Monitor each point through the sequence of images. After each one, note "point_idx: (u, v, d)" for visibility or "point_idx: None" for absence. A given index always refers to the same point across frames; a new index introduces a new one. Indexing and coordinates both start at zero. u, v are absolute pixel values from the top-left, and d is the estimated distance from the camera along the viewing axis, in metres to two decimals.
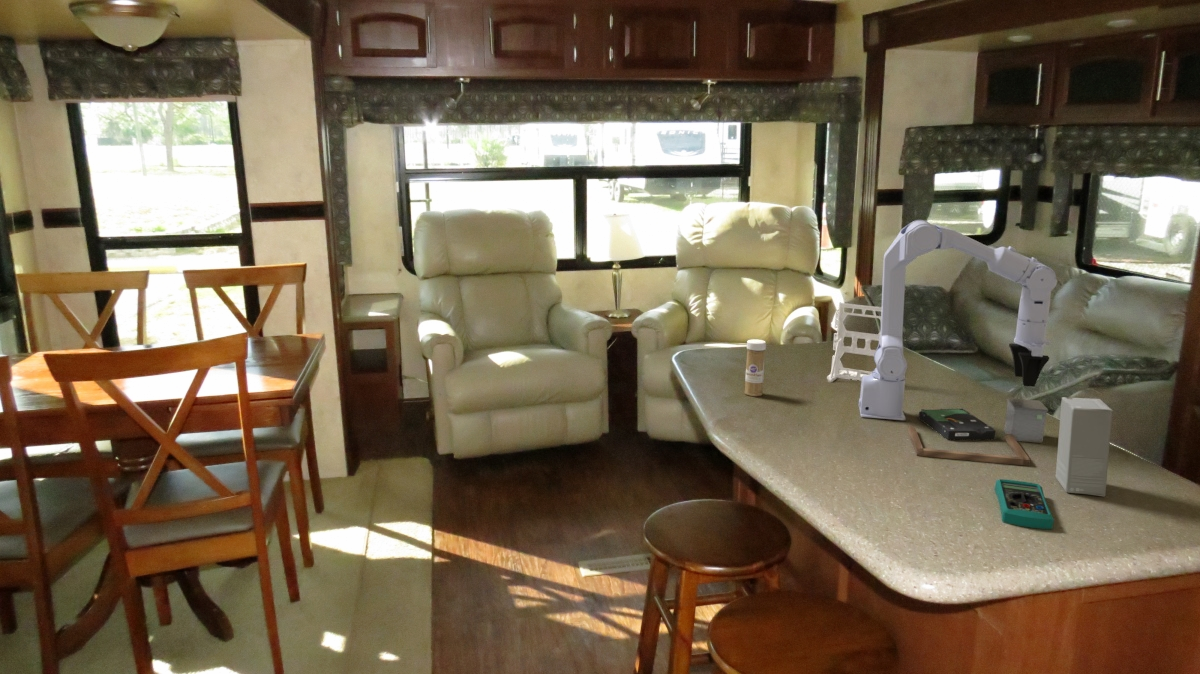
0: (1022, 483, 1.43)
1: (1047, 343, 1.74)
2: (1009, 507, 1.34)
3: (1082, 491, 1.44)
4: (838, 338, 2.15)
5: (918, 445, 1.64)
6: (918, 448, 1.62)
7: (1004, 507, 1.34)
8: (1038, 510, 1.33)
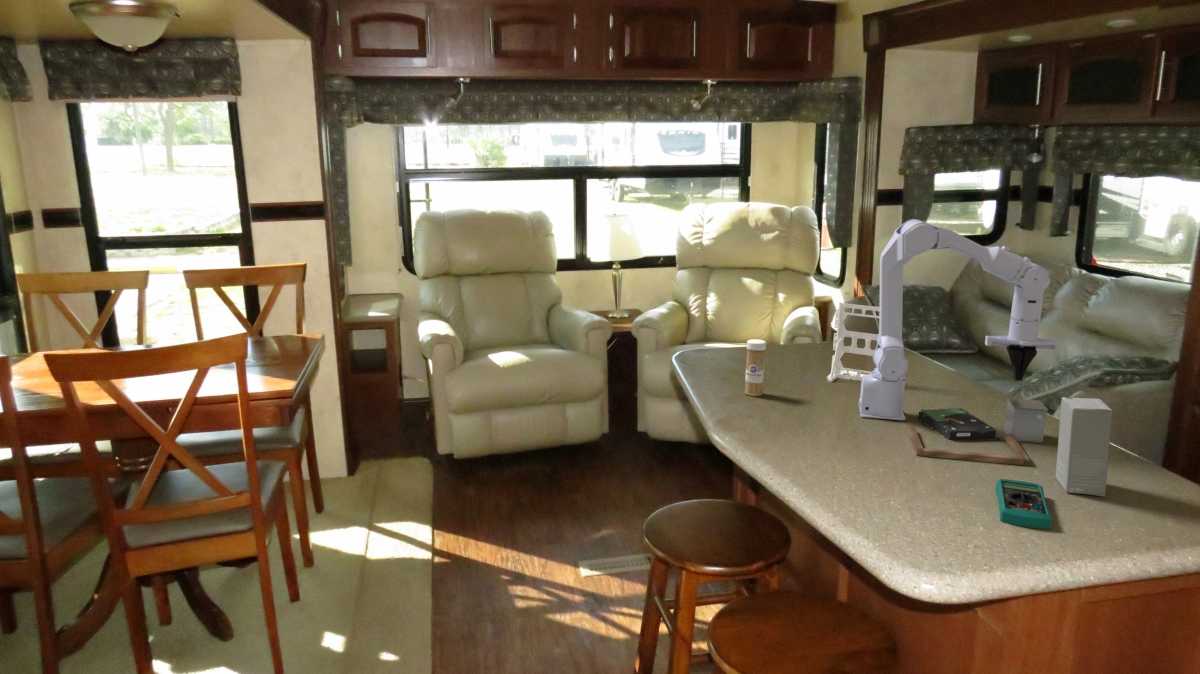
0: (1023, 483, 1.43)
1: (1020, 343, 1.75)
2: (1007, 507, 1.34)
3: (1082, 491, 1.44)
4: (838, 338, 2.15)
5: (918, 445, 1.64)
6: (918, 448, 1.62)
7: (1002, 506, 1.34)
8: (1036, 510, 1.33)
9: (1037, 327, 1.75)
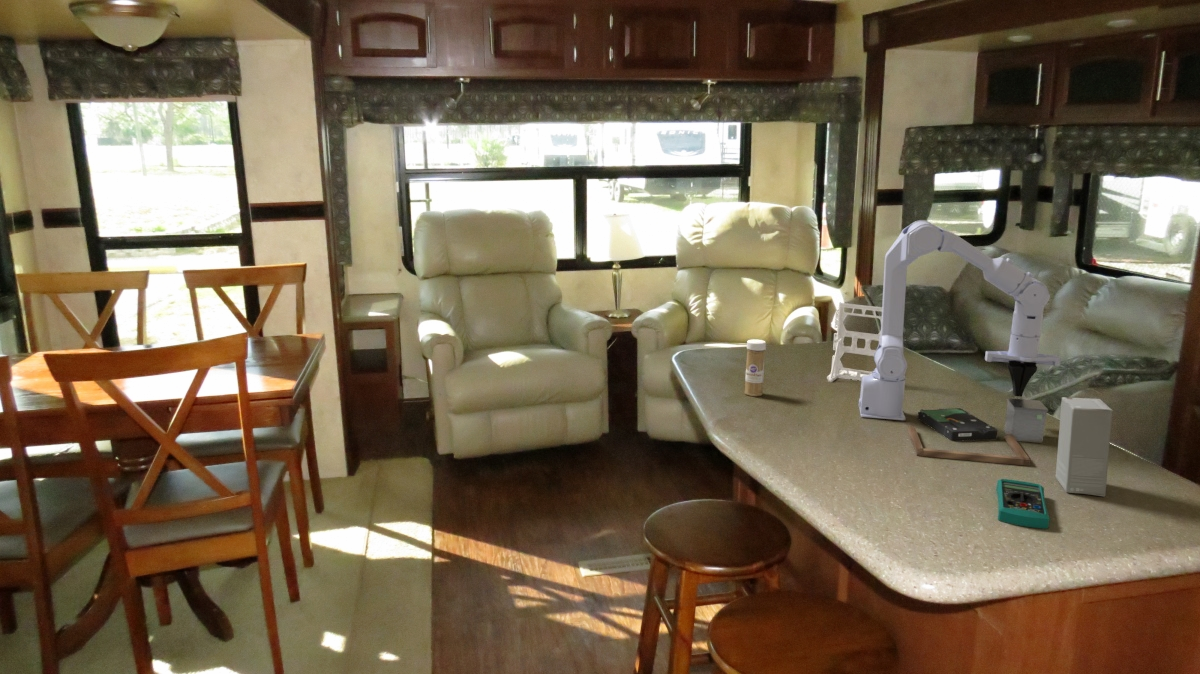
0: (1024, 483, 1.43)
1: (1020, 359, 1.74)
2: (1005, 506, 1.34)
3: (1082, 491, 1.44)
4: (838, 338, 2.15)
5: (918, 445, 1.64)
6: (918, 448, 1.62)
7: (1000, 506, 1.35)
8: (1035, 509, 1.33)
9: (1037, 343, 1.74)
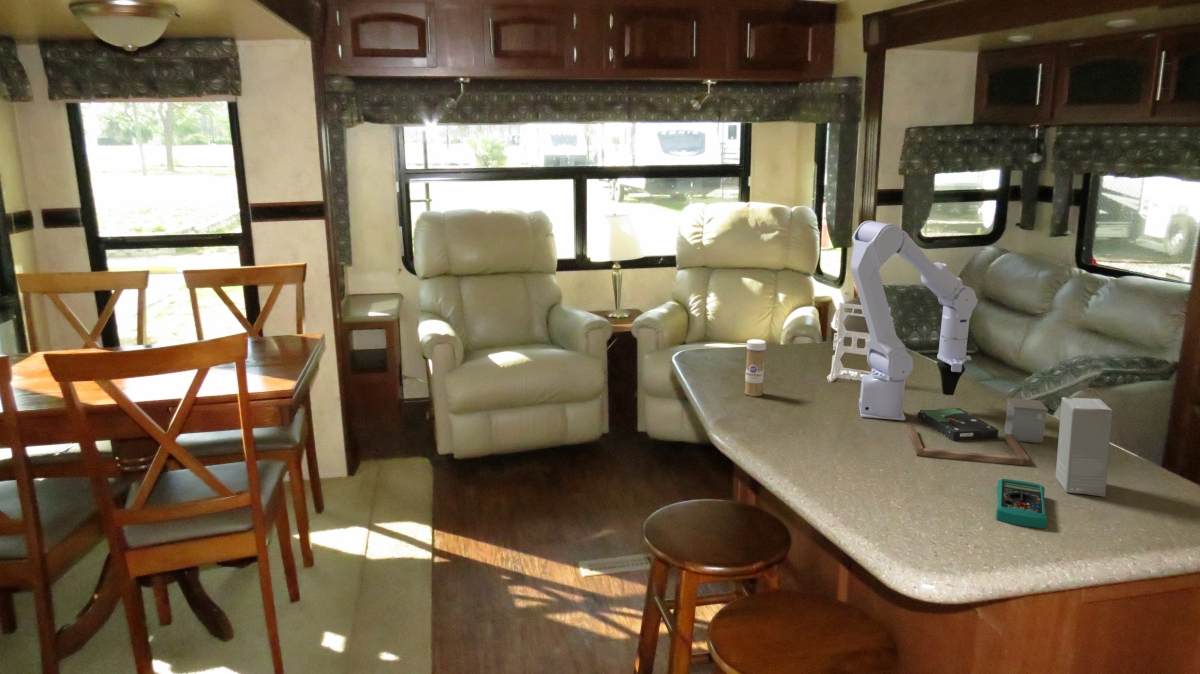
0: (1024, 483, 1.43)
1: (967, 359, 1.86)
2: (1004, 505, 1.35)
3: (1082, 491, 1.44)
4: (838, 338, 2.15)
5: (918, 445, 1.64)
6: (918, 448, 1.62)
7: (998, 505, 1.35)
8: (1033, 509, 1.33)
9: None
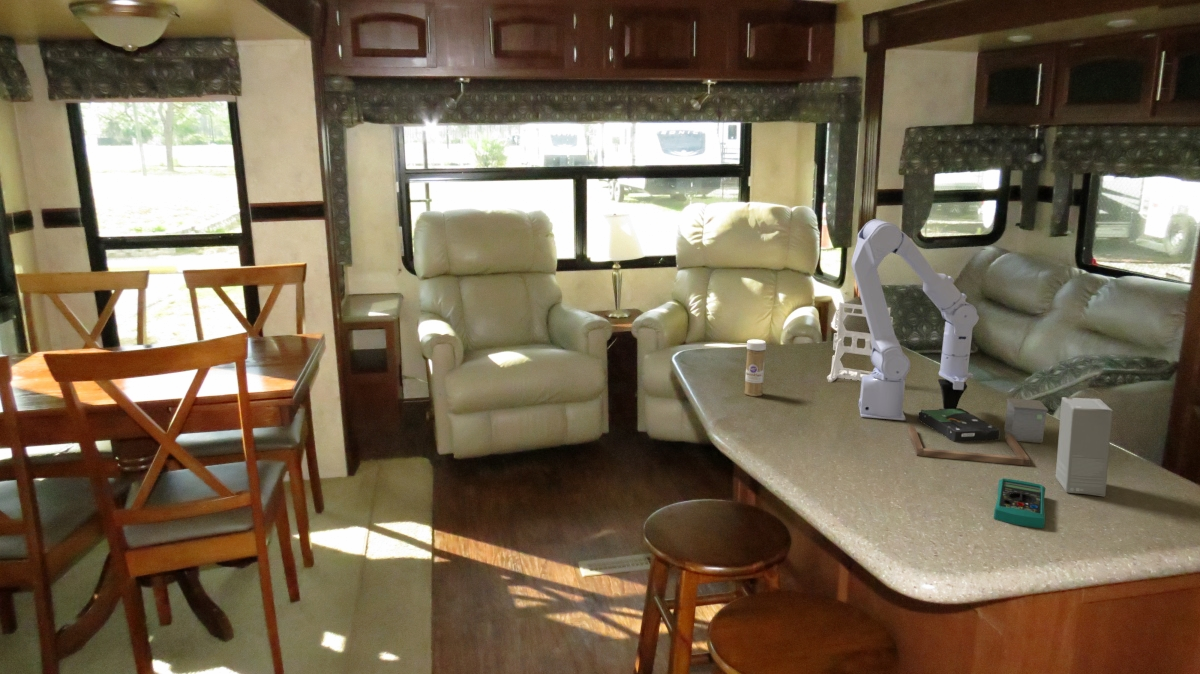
0: (1025, 483, 1.43)
1: (969, 376, 1.82)
2: (1002, 505, 1.35)
3: (1082, 491, 1.44)
4: (838, 338, 2.15)
5: (918, 445, 1.64)
6: (918, 448, 1.62)
7: (997, 504, 1.35)
8: (1031, 509, 1.33)
9: None
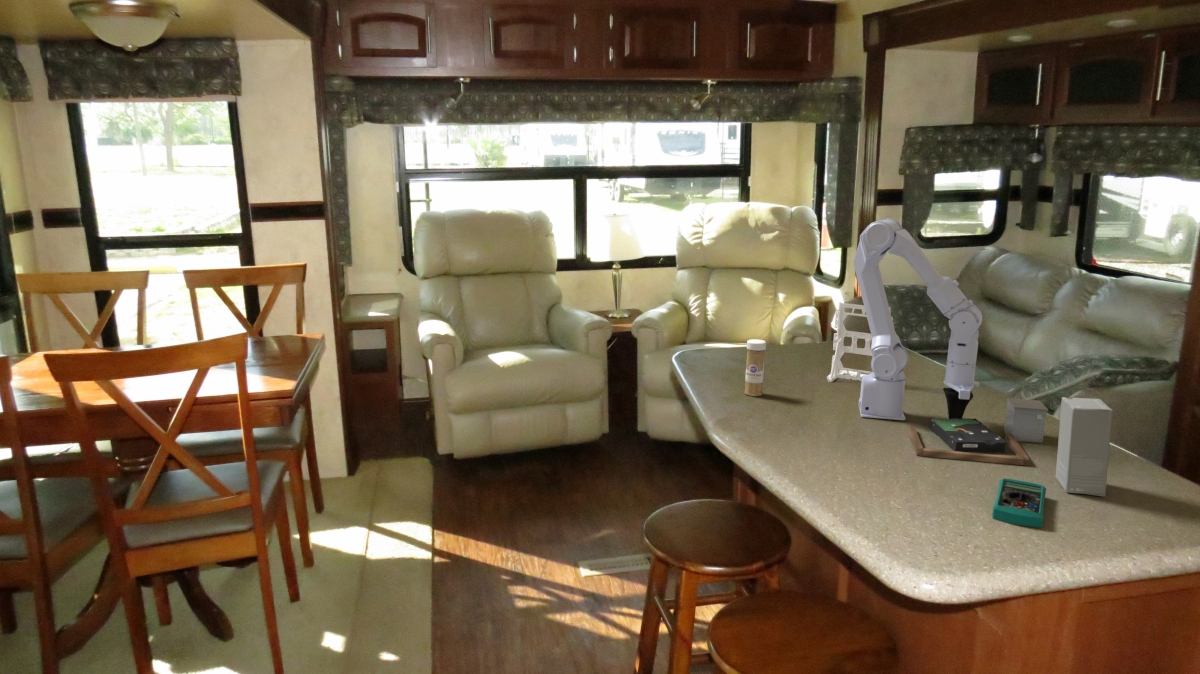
0: (1026, 483, 1.43)
1: (976, 385, 1.76)
2: (1000, 504, 1.35)
3: (1082, 491, 1.44)
4: (838, 338, 2.15)
5: (918, 445, 1.64)
6: (918, 448, 1.62)
7: (995, 504, 1.35)
8: (1030, 509, 1.33)
9: None
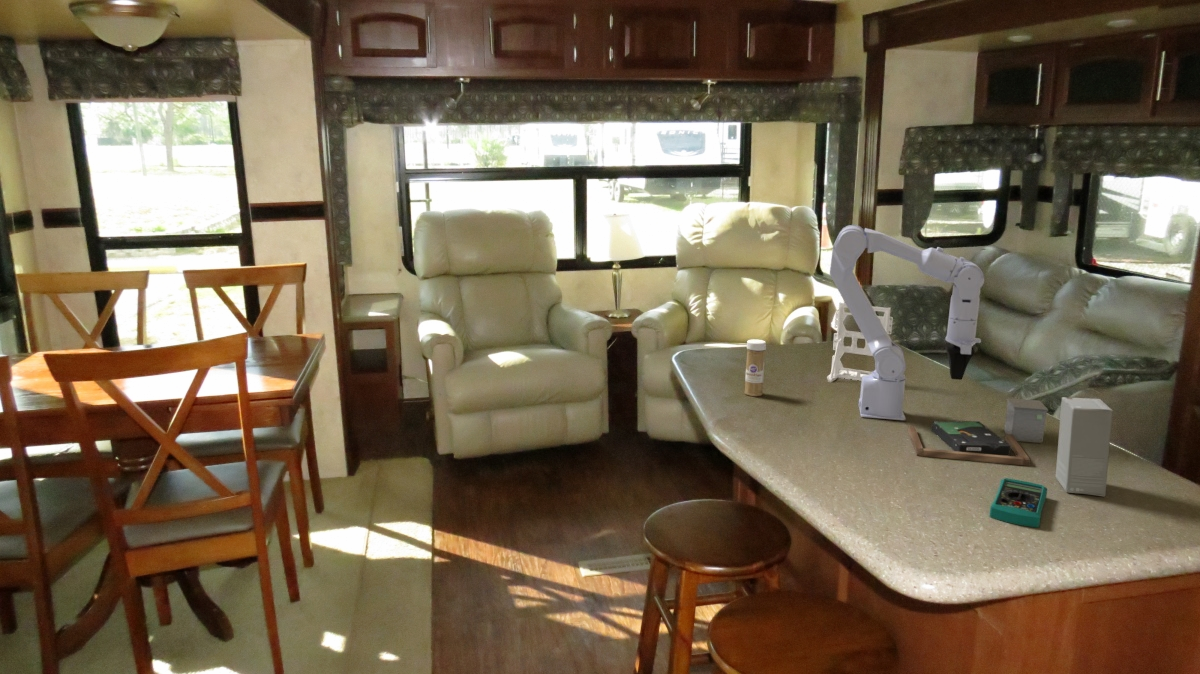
0: (1027, 483, 1.43)
1: (977, 341, 1.77)
2: (998, 503, 1.35)
3: (1082, 491, 1.44)
4: (838, 338, 2.15)
5: (918, 445, 1.64)
6: (918, 448, 1.62)
7: (993, 503, 1.36)
8: (1027, 508, 1.34)
9: None
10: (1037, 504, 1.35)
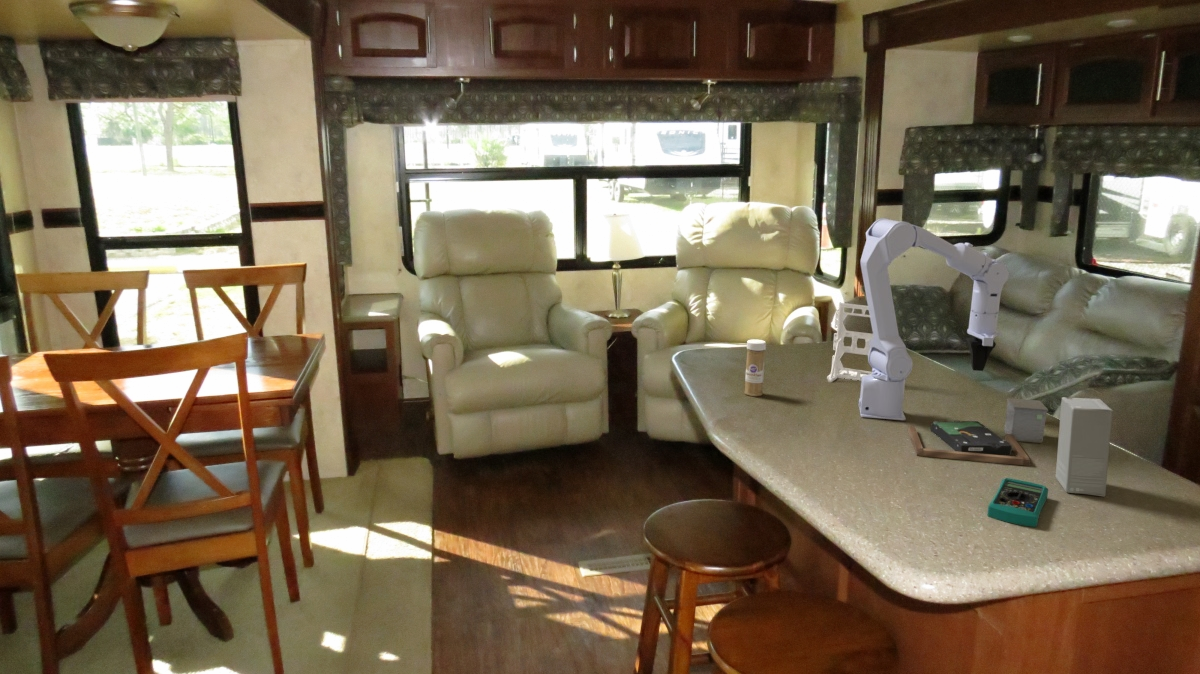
0: (1028, 483, 1.43)
1: (998, 334, 1.84)
2: (996, 502, 1.36)
3: (1082, 491, 1.44)
4: (838, 338, 2.15)
5: (918, 445, 1.64)
6: (918, 448, 1.62)
7: (991, 502, 1.36)
8: (1026, 508, 1.34)
9: None
10: (1036, 504, 1.35)
